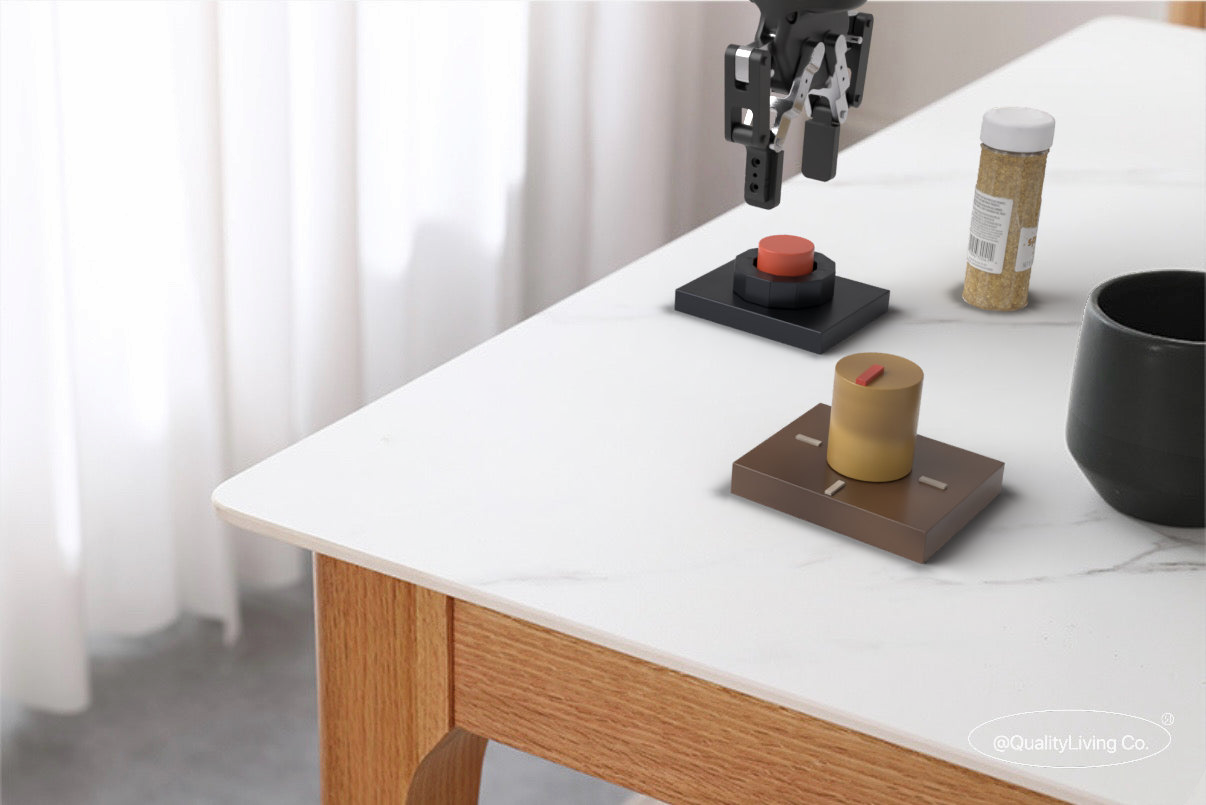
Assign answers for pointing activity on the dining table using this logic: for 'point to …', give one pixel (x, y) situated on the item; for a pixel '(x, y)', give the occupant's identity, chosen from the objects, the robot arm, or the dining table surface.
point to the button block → (784, 302)
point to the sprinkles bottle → (1007, 207)
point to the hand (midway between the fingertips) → (790, 191)
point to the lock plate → (869, 488)
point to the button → (785, 255)
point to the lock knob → (874, 416)
